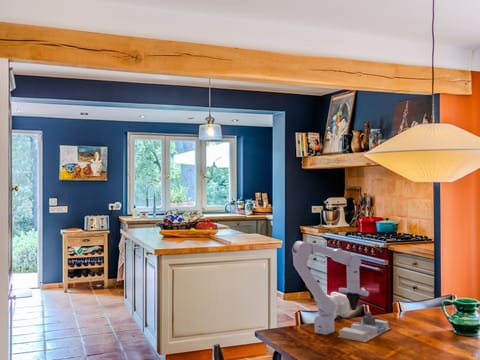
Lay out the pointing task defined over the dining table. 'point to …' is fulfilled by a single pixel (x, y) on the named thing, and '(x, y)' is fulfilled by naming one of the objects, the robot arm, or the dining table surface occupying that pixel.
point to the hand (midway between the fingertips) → (353, 309)
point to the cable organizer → (340, 304)
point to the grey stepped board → (364, 330)
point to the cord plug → (369, 319)
